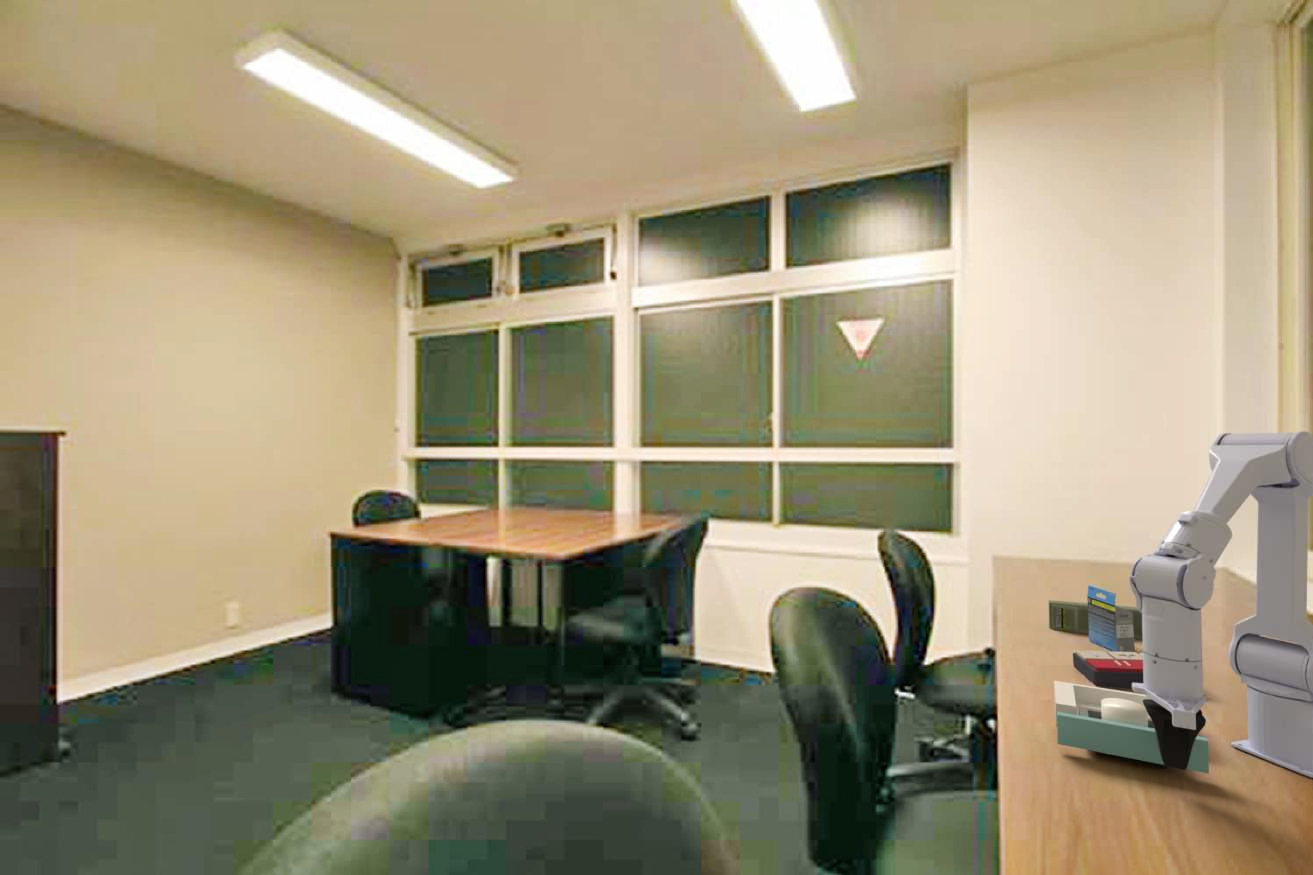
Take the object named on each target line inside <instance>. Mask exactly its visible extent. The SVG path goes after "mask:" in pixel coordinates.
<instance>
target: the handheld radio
mask: <svg viewBox="0 0 1313 875" xmlns="http://www.w3.org/2000/svg"><path fill="white" fill-rule="evenodd" d="M1117 606H1118V607H1120V608H1123V609H1125V610H1128V611H1131V612H1132V613H1133V630H1134V639H1141V640H1143V637H1142V613H1141V612H1139V611H1138V608H1136V606H1125V605H1117ZM1048 628H1049V629H1050V630H1055V631H1063V632H1064V631H1065V632H1075V633H1084V634H1089V622H1088V602H1087V603H1086V602H1075V601H1065V600H1064V601H1063V600H1051V599H1049V600H1048Z"/></svg>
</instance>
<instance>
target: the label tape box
mask: <svg viewBox="0 0 1313 875" xmlns="http://www.w3.org/2000/svg"><path fill="white" fill-rule="evenodd" d="M1097 594H1098V595H1099V594H1101V595H1102V596H1104V597H1101V596H1098V595H1097ZM1116 594H1117V593H1115V592H1111V591H1108V590H1105V589H1102V588H1100V587H1097V586H1094V585H1092V584H1088V586H1087V594H1086V599H1087V603H1088V622H1089V633H1088V640H1089V642H1091V643H1093V644H1096V645H1098V646H1101V647H1103V648H1106V649H1108V650H1110V651H1114V652H1136V650H1135V638H1134V630H1133V613H1132V612H1131V611H1128V610H1125V609H1123V608H1120V607H1118V606H1119V605H1116V598H1117V597H1116Z"/></svg>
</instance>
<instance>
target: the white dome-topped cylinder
mask: <svg viewBox="0 0 1313 875" xmlns="http://www.w3.org/2000/svg"><path fill="white" fill-rule="evenodd" d="M1101 714H1102V720H1108V721H1114V722H1120V723H1125V724H1131V725H1137V726H1143V727H1148V713H1147V711H1146V708H1145V706H1143V705H1141V704H1139V703H1136V702H1133V701H1130V700H1125V699H1119V698H1105V699H1102V700H1101Z"/></svg>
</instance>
